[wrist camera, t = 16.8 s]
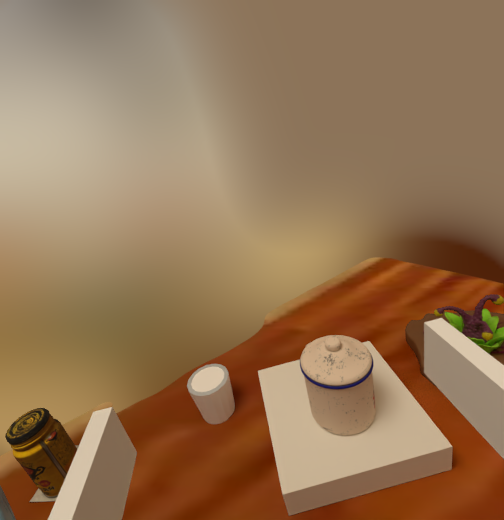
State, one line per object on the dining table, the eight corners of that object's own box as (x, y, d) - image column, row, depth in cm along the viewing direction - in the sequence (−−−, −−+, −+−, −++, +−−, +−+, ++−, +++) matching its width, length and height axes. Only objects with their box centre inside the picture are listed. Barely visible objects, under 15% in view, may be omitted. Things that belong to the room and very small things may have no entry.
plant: (601, 403, 40) (620, 332, 36) (434, 406, 45) (434, 344, 40) (510, 314, 58) (516, 261, 54) (398, 323, 62) (395, 275, 58)
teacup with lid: (393, 417, 40) (388, 344, 35) (335, 452, 37) (322, 379, 33) (336, 363, 50) (327, 302, 46) (288, 387, 48) (274, 326, 44)
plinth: (288, 515, 36) (282, 494, 34) (262, 388, 54) (257, 370, 53) (451, 469, 36) (452, 446, 35) (370, 358, 55) (369, 340, 54)
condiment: (29, 503, 45) (-16, 447, 40) (66, 447, 52) (31, 395, 48) (74, 500, 43) (32, 442, 39) (104, 443, 51) (73, 390, 47)
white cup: (216, 389, 57) (205, 359, 54) (246, 400, 53) (236, 368, 50) (191, 419, 52) (178, 388, 49) (222, 433, 48) (210, 400, 45)
